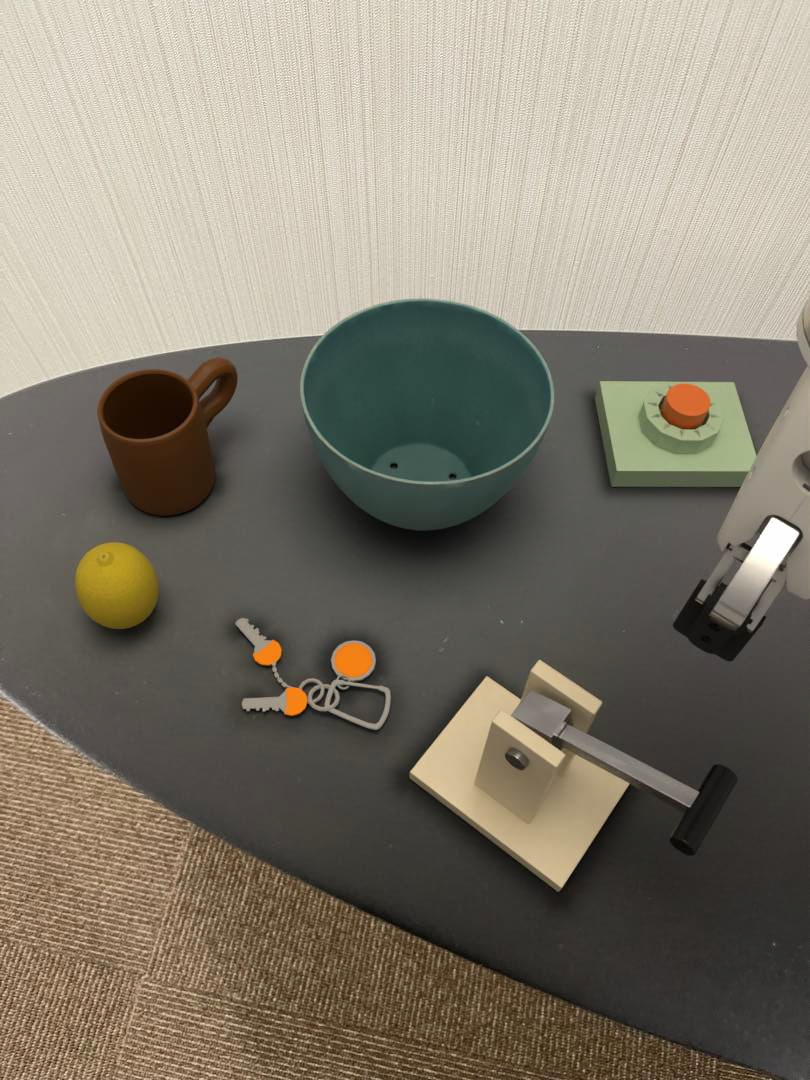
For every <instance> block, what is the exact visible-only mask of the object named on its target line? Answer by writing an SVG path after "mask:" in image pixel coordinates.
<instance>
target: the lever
mask: <svg viewBox="0 0 810 1080" xmlns="http://www.w3.org/2000/svg"><path fill="white" fill-rule="evenodd" d="M511 716H512V717H513V718H515V719H516V720H518V721H519V722H520V723H522V724H523V725H525V726H526V727H528V728H529V729H530V730H532V731H533V732H535V733H536V734H537V735H539V736H540V737H542V738H543V739H545V740H546V741H547V742H549V743H550V744H552V745H553V746H554V747H556V748H557V749H559V750H560V751H561V750H562V748H565V749H566V750H568V751H570V752H572V753H574V754H576V755H578V756H579V757H581V758H583V759H585V760H587V761H589V762H591V763H592V764H594V765H596V766H598V767H600V768H602V769H604V770H605V771H607V772H609V773H611V774H613V775H615V776H617V777H618V778H620V779H622V780H624V781H626V782H628V783H630V784H629V785H631V786H633V787H635V788H637V789H638V790H640V791H643V792H644V793H646V794H649V795H651V797H654V798H656V799H657V800H659V801H661V802H663V803H665V804H667V805H668V806H671V807H672V808H674V809H676V810H677V811H680V812H681V813H683V814H682V815H681V818H680V819H679V820H678V823H677V824H676V826H675V827H674V829H673V831H672V833H671V834H670V836H669V838H668V839H669V843H670V845H671V846H672V847H674V849H676V850H677V851H679V852H680V853H682V854H683V855H686V856H690V857H692V856H694V855H696V853H697V852H698V850H699V849H700V847H701V846H702V844H703V841H704V840H705V838H706V836H707V835H708V833H709V831H710V829H711V827H712V826H713V825H714V823H715V821H716V819H717V817H718V815H719V814H720V812H721V810H722V809H723V807H724V805H725V803H726V802H727V800H728V799H729V796H730V795H731V793H732V791H733V790H734V788H735V786H736V784H737V783H738V776H737V774H736V772H734V771H733V770H732V769H731V768H729V767H727V766H726V765H723V764H719V763H716V764H713V765H712V766H711V768H710V769H709V771H708V773H707V775H706V776H705V778H704V779H703V781H702V782H701V784H700V786H699V788H698V789H697V790H696V789H694V788H693V787H690V786H689V785H688V784H685V783H683V782H681V781H680V780H677V779H675V778H673V777H671V776H670V775H668V774H666V773H664V772H662V771H660V770H658V769H656V768H654V767H653V766H650V765H649V764H646V763H645V762H643V761H641V760H639V759H637V758H636V757H633V756H631V755H630V754H628V753H626V752H623V751H622V750H620V749H618V748H616V747H614V746H612V745H610V744H609V743H606V742H604V741H602V740H600V739H599V738H597V737H595V736H593V735H591V734H589V733H588V732H587V733H585V732H583V731H581V730H579V729H577V728H576V727H574V725H573V717H572V710H571V709H570V708H568V707H566V706H564V705H562V704H560V703H558V702H556V701H554V700H552V699H550V698H548V697H546V696H544V695H542V694H540V693H538V692H536V691H534V690H532V689H531V690H530V691H529V692H528V694H527V695H526V696H525V698H524V699H523V700H522V701H521V703H520V704H519V705H518V707H517V708H516V709H515V711H514V712H513V713H512V715H511Z"/></svg>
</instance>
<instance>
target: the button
mask: <svg viewBox="0 0 810 1080" xmlns="http://www.w3.org/2000/svg"><path fill="white" fill-rule="evenodd" d="M710 404H711V402H710V398H709V396H708V394H707V393H706V392H705V391H704V390H703V389H701V388H700V387H698V386H695V385H692V384H686V383H682V384H677V385H674V386H673V387H671V388H670V389H669V390H668V392H667V395H666V397H665V400H664V402H663V405H662V408H661V413H662V416H663V418H664V419H665V420H666V421H667V422H668V423H669V424H670V425H673V426H675V427H678V428H680V429H695V428H697V427H699V426H700V425H701V424H702V423H703V421H704V419H705V417H706V415H707V412H708V410H709V408H710Z"/></svg>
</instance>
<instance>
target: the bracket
mask: <svg viewBox="0 0 810 1080" xmlns="http://www.w3.org/2000/svg"><path fill="white" fill-rule="evenodd" d="M531 689H532V690H534V691H536V692H538V693H540V694H542V695H544V696H546V697H548V698H550V699H552V700H554V701H556V702H558V703H560V704H562V705H564V706H566V707H568V708H570V709H571V710H572V717H573V725H574V727H576V728H577V729H579V730H581V731H583V732H585V733H587V734H588V732H589V730H590V728H591V726H592V724H593V722H594V721H595V719H596V717H597V715H598V713H599V711H600V709H601V707H602V705H603V701H602V700H601V699H599V698H598V697H596V696H594V695H593V694H592V693H590V692H589V691H587V690H586V689H585V688H583V687H582V686H579V685H578V684H576V682H574V681H572V680H571V679H569V678H568V677H566V676H565V675H563V674H562V673H560V672H559V671H557V670H556V669H555V668H553V667H551V666H550V665H548V664H547V663H546V662H544V661H542V660H541V659H538V660H537V662H536V663H535V664H534V665H533V666H532V668H531V669H530V671H529V674H528V677H527V679H526V683H525V686H524V689H523V692H522V694H521V698H519V697H518V696H516V695H515V694H513V693H512V692H511V691H509V690H508V689H506V688H505V687H504V686H502V685H501V684H499V683H498V682H496V681H494V680H493V679H492V678H491V677H490V676H487V675H486V676H485V677H484V679H482V681H481V682H480V683H479V685H478V686H477V687H476V688H475V690H474V691H473V692H472V694H471V695H470V696H469V697H468V698H467V700H466V701H465V702H464V703H463V704H462V706H461V707H460V708H459V710H458V711H457V712H456V713H455V715H454V716H453V717H452V719H451V720H450V721H449V722H448V723H447V725H446V726H445V727H444V728H443V729H442V731H441V732H440V733H439V734H438V736H437V737H436V738H435V740H434V741H433V742H432V743H431V745H430V746H429V747H428V748H427V749H426V751H425V752H424V753H423V754H422V756H421V757H420V758H419V759H418V761H417V762H416V763H415V765H414V766H413V767H412V769H411V770H410V771H409V776H408V777H409V779H410V780H411V781H412V782H414V783H415V784H417V785H418V786H419V787H420V788H422V789H423V790H424V791H426V792H427V793H428V794H430V795H431V796H432V797H433V798H435V800H437V801H438V802H439V803H441V804H443V805H444V806H445V807H446V808H448V809H449V810H451V812H453V813H454V814H456V815H457V816H458V817H460V818H461V819H462V820H463V821H465V822H466V823H467V824H469V825H470V826H471V827H473V828H474V829H475V830H477V831H478V832H479V833H480V834H482V835H483V836H484V837H485V838H487V839H488V840H489V841H490V842H492V843H493V844H495V845H496V846H497V847H499V848H500V849H501V850H503V851H504V852H505V853H506V854H508V856H510V857H512V858H513V859H514V860H516V861H517V862H518V863H520V864H521V865H522V866H523V867H525V868H526V869H527V870H529V871H530V872H531V873H533V874H534V875H535V876H536V877H538V878H539V879H540V880H542V881H543V882H544V883H546V884H547V885H548V886H549V887H551V888H552V889H554V890H555V891H556V892H558V893H560V892H561V890H562V889H563V888H564V886H565V885H566V884H567V881H568V880H569V878H570V877H571V875H572V873H573V872H574V870H575V869H576V868H577V866H578V864H579V863H580V861H581V860H582V858H583V857H584V855H585V853H586V852H587V851H588V849H589V847H590V846H591V844H592V843H593V841H594V840H595V838H596V837H597V835H598V834H599V832H600V831H601V829H602V828H603V826H604V824H605V823H606V822H607V820H608V818H609V816H610V815H611V813H612V812H613V810H614V809H615V807H616V806H617V805H618V803H619V801H620V800H621V798H622V797H623V795H624V793H625V792H626V790H627V789H628V788H629V786H630V785H631V784H630V783H628V782H626V781H624V780H622V779H620V778H618V777H617V776H615V775H613V774H611V773H609V772H607V771H605V770H604V769H602V768H600V767H598V766H596V765H594V764H592V763H591V762H589V761H587V760H585V759H583V758H581V757H579V756H578V755H576V754H574V753H572V752H570V751H568V750H566V749H565V748H562V750H561V751H560V750H559V749H557V748H556V747H554V746H553V745H552V744H550V743H549V742H547V741H546V740H545V739H543V738H542V737H540V736H539V735H537V734H536V733H535V732H533V731H532V730H530V729H529V728H528V727H526V726H525V725H523V724H522V723H520V722H519V721H518V720H516V719H515V718H513V717H512V716H511V715H512V713H513V712H514V711H515V709H516V708H517V707H518V705H519V704H520V703H521V701H522V700H523V699H524V698H525V696H526V695H527V694H528V692H529V691H530V690H531Z"/></svg>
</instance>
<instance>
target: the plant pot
mask: <svg viewBox="0 0 810 1080" xmlns="http://www.w3.org/2000/svg"><path fill="white" fill-rule="evenodd" d="M299 393H300V402H301V408H302V414H303V417H304V421H305V425H306V428H307V431H308V435H309V437H310V439H311V442H312V444H313V448H314V449H315V451H316V453H317V455H318V458H319V459H320V462H321V463H322V465H323V466H324V468H325V470H326V471H327V474H328V475H329V476H330V478H331V479H332V480H333V482H334V483H335V484H336V485H337V487H338V488H339V489H340V490H341V491H342V493H344V494H345V495H346V497H347V498H348V499H350V500H351V502H352V503H353V504H355V505H356V506H357V507H358V508H360V509H361V510H362V511H364V512H366V513H367V514H369V515H370V516H371V517H373V518H376V519H377V520H379V521H381V522H383V523H386V524H388V525H391V526H394V527H397V528H402V529H405V530H411V531H412V530H413V531H436V530H442V529H443V530H444V529H447V528H451V527H454V526H457V525H461V524H463V523H465V522H467V521H470V520H472V519H475V517H477V516H479V515H481V514H483V513H484V512H485V511H487V510H489V509H490V508H491V507H492V506H493V505H495V504H496V503H497V502H499V500H501V499H502V498H503V497H504V496H505V495H506V494H507V493H508V492H509V491H510V490H511V489H512V488H513V487H514V486H515V484H516V483H517V482H518V481H519V479H521V477H522V475H523V474H524V473H525V472H526V470H527V468H528V467H529V465H530V464H531V462H532V461H533V460H534V458H535V456H536V454H537V452H538V450H539V448H540V446H541V445H542V442H543V440H544V438H545V435H546V433H547V430H548V428H549V425H550V422H551V419H552V415H553V411H554V407H555V387H554V382H553V377H552V374H551V372H550V369H549V366H548V364H547V362H546V360H545V358H544V357H543V355H542V353H541V352H540V351H539V349H538V348H537V347H536V345H534V343H533V342H532V341H531V340H530V339H529V338H528V337H527V336H526V335H525V334H524V333H523V332H521V331H520V330H519V329H518V328H516V327H515V326H514V325H512V324H511V323H509V322H508V321H506V320H505V319H503V318H501V317H499V316H498V315H495V314H494V313H491V312H489V311H486V310H485V309H481V308H478V307H476V306H473V305H469V304H465V303H461V302H457V301H453V300H448V299H438V298H420V297H419V298H404V299H396V300H390V301H386V302H382V303H378V304H374V305H371V306H368V307H366V308H363V309H361V310H359V311H356V312H354V313H351V314H350V315H348V316H346V317H345V318H343V319H342V320H340V321H338V322H337V323H336V324H334V325H333V326H332V327H330V328H329V329H328V330H327V331H325V332H324V333H323V334H322V335H321V336H320V337H319V338H318V339H317V341H316V342H315V344H314V345H313V346H312V348H311V350H310V351H309V353H308V355H307V357H306V359H305V361H304V365H303V368H302V371H301V375H300V382H299ZM392 465H396V466H397V467H396V468H392V467H391V466H392ZM451 475H454V476H455V478H451V477H450V476H451Z"/></svg>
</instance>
